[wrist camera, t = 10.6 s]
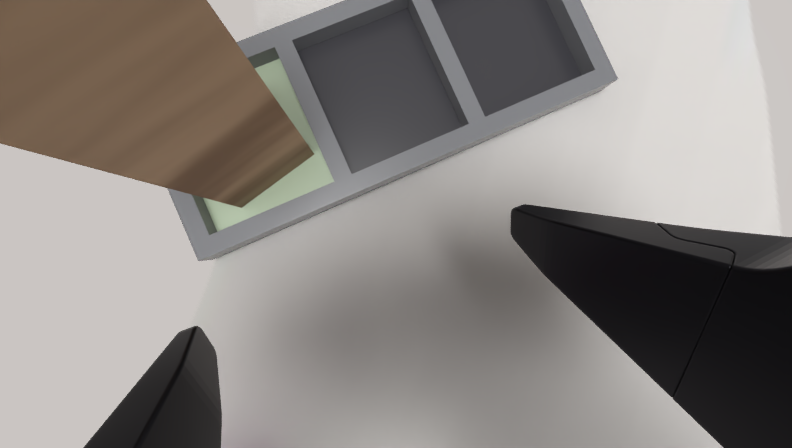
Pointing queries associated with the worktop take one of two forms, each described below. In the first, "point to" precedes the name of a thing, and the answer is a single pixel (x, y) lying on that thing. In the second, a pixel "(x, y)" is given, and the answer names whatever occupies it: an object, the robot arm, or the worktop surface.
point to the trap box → (399, 96)
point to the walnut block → (143, 96)
